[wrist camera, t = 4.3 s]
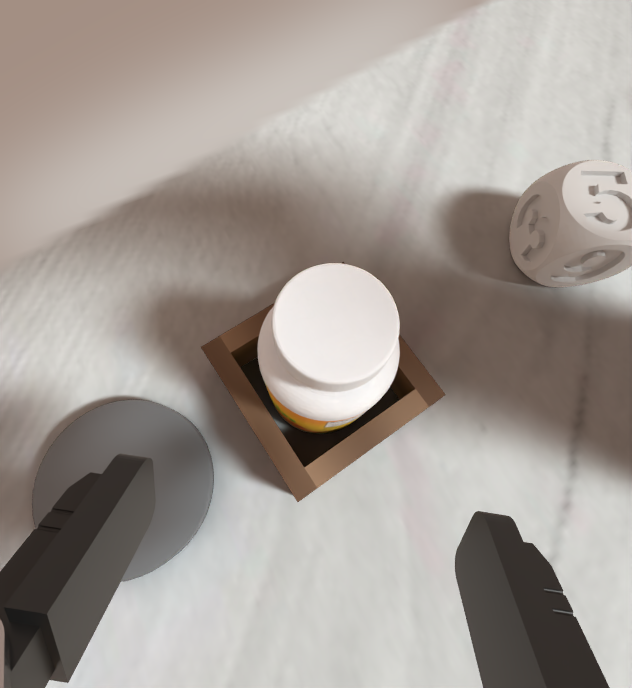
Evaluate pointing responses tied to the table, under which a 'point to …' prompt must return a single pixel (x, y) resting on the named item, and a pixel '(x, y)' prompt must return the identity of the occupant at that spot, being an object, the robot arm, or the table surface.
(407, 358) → the walnut collar
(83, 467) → the rubber coaster
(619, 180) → the die
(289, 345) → the supplement bottle
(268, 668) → the table surface
